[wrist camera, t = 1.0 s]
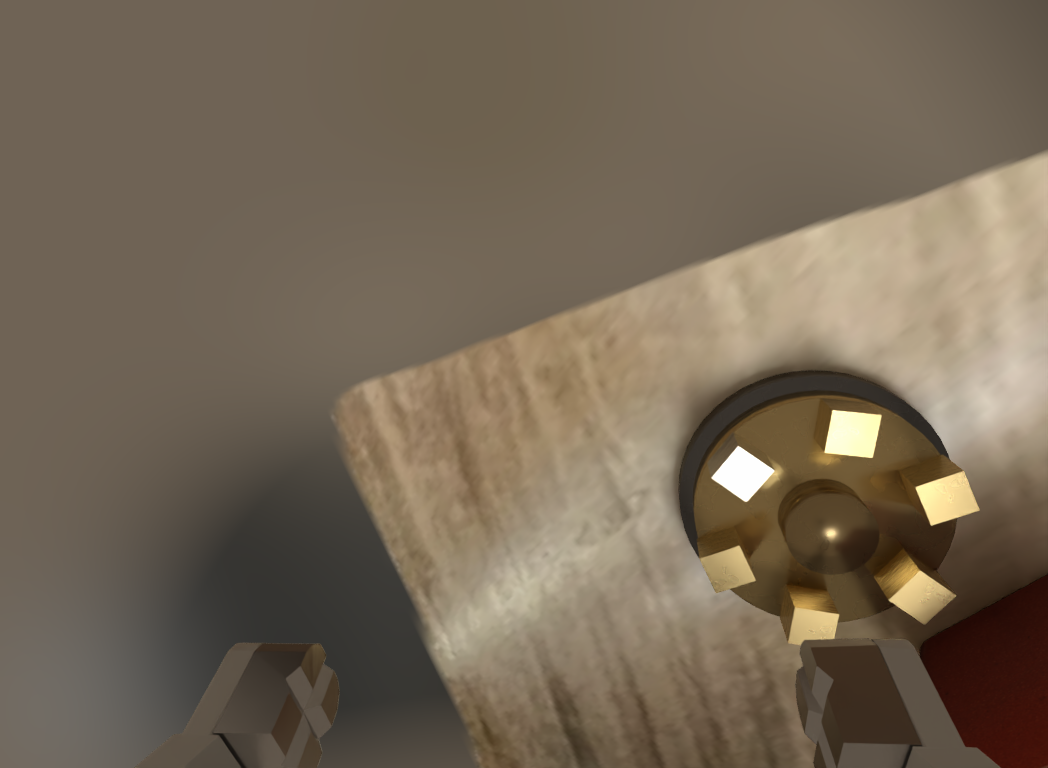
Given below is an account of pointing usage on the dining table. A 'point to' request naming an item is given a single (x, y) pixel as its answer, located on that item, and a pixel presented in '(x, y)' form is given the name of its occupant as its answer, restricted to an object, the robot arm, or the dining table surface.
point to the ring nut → (827, 512)
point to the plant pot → (998, 677)
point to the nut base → (773, 389)
